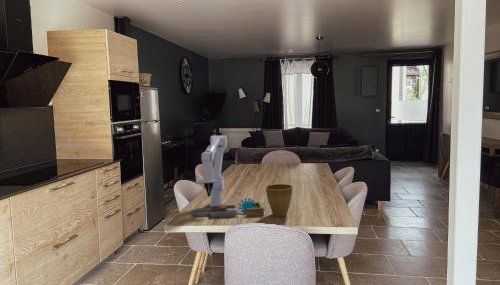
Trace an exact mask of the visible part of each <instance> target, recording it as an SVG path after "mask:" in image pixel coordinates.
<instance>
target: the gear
mask: <svg viewBox="0 0 500 285" xmlns="http://www.w3.org/2000/svg"><path fill="white" fill-rule="evenodd" d="M251 202H255V200H254V199H251V198H250V197H249V198H248V199H247V198H244V200H243V199H241V200H240V202H239V204H238V206H239V207H238V208H239V210H240V213H244V215H247V209H246V208H258V206H253V205H256V203H251Z"/></svg>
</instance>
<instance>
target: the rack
mask: <svg viewBox="0 0 500 285" xmlns="http://www.w3.org/2000/svg"><path fill="white" fill-rule="evenodd" d="M251 203H256V205H253V206H258V208H246V209H247V212H246V217H258V216H259V217H260V216H265V211H264V210H265V207H264V206H263V204H262V202H261V201H254V202H251Z"/></svg>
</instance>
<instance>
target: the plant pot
mask: <svg viewBox="0 0 500 285" xmlns="http://www.w3.org/2000/svg"><path fill="white" fill-rule="evenodd" d="M265 192H266V197H267V201H268V204H269V207H270V210H271V212H272V215H273V216H275V217H286V216H287V214H288V211H289V208H290V205H291V201H292V195H293V185H292V184H285V183H279V184H278V183H275V184H269V185H268V184H267V185H266V186H265Z"/></svg>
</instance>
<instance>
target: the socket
mask: <svg viewBox="0 0 500 285" xmlns="http://www.w3.org/2000/svg"><path fill="white" fill-rule="evenodd" d="M233 208H236V204H227V209H233ZM212 211H213V212H212ZM190 216H191V217H192V216H197V217H210V218H211V219H219V218H236V217H237V214H236V211H220V205H219V206H211V207H210V208H209V209H194V210H193V209H192V210H191V214H190ZM192 218H193V217H192Z"/></svg>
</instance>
